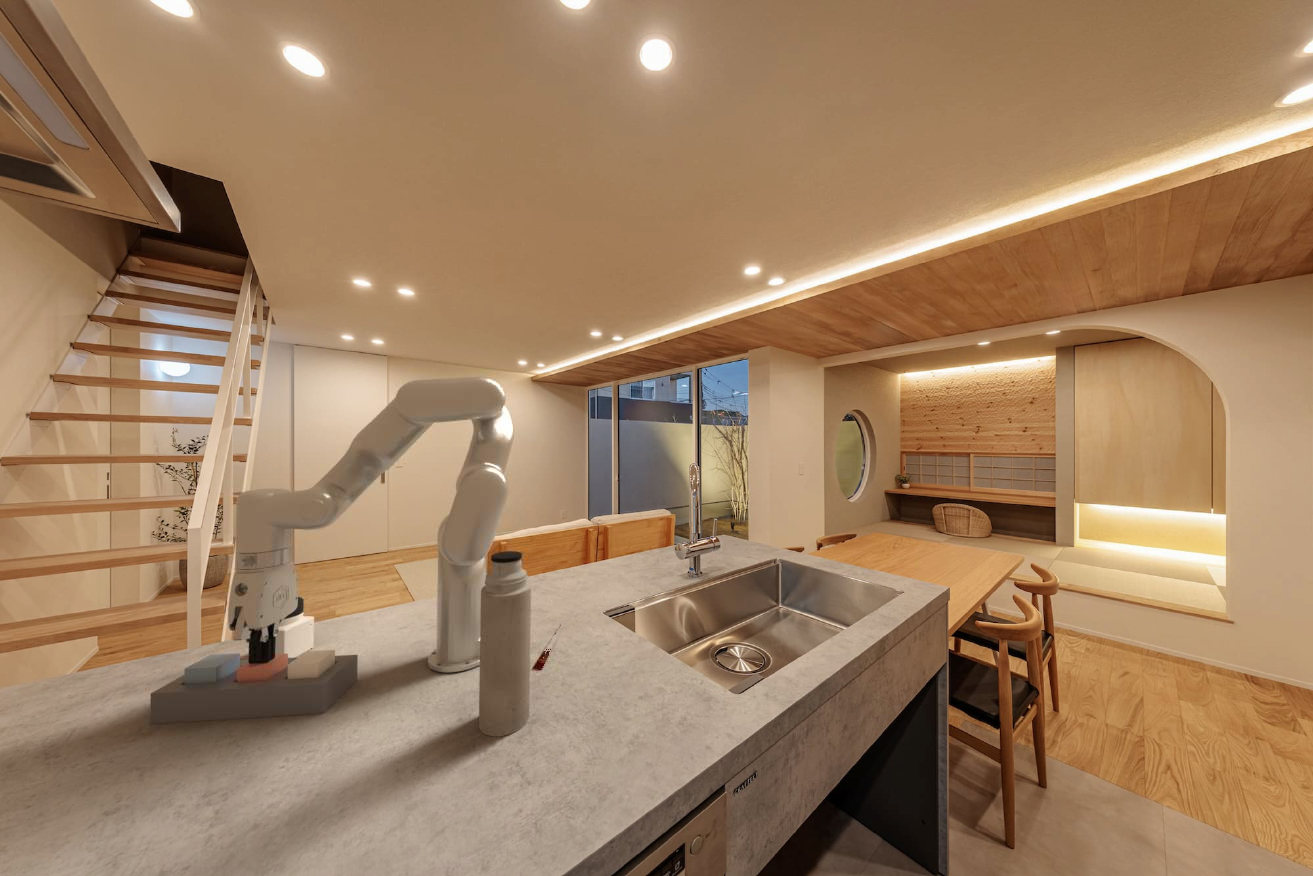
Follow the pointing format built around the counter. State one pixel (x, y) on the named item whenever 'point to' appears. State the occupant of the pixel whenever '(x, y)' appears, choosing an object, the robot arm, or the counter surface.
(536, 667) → the red handled knife
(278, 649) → the medicine bottle
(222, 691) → the key panel
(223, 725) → the counter surface
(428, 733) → the counter surface
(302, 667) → the off-white key
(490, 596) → the thermos bottle
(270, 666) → the terracotta key
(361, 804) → the counter surface
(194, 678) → the slate-blue key
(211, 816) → the counter surface
